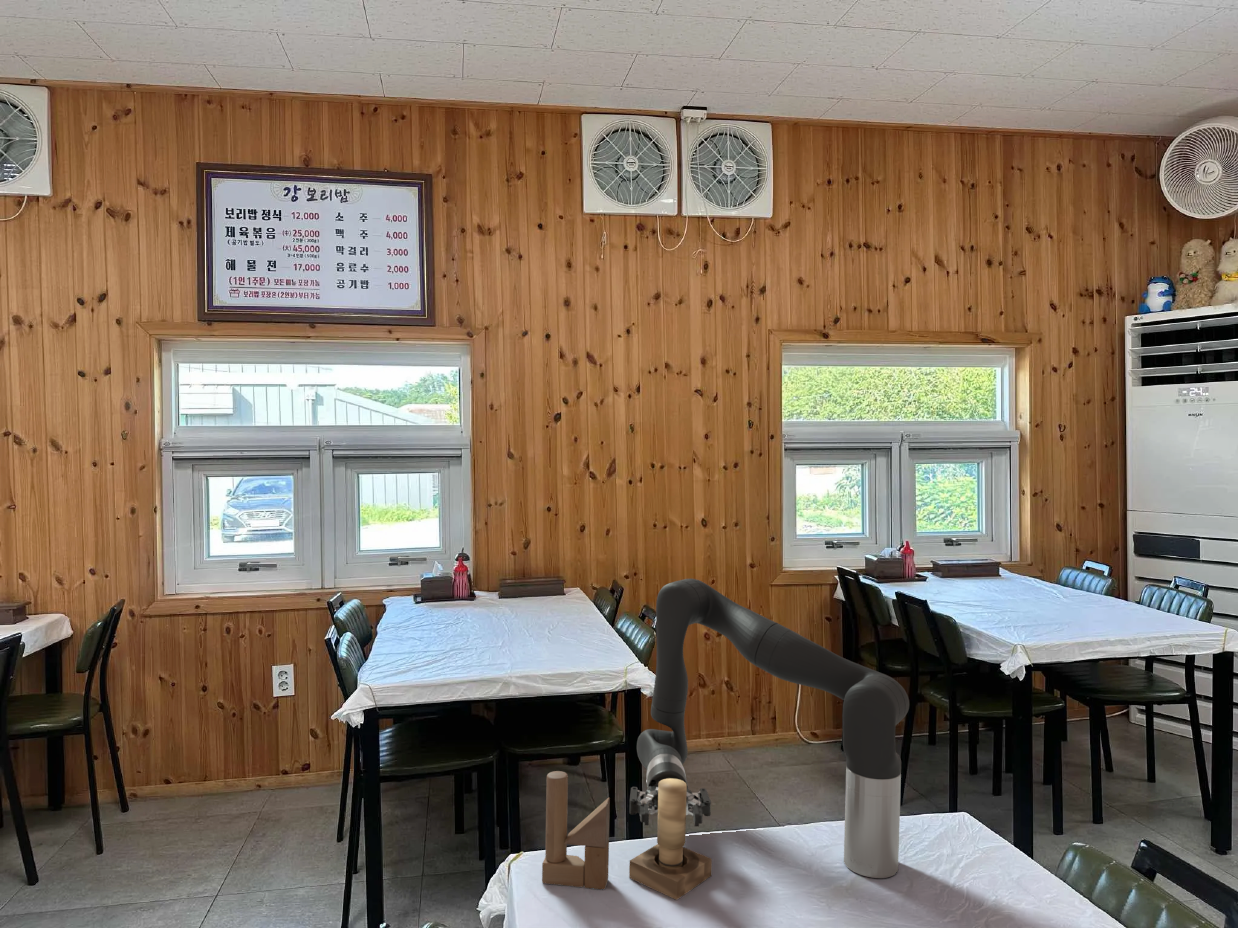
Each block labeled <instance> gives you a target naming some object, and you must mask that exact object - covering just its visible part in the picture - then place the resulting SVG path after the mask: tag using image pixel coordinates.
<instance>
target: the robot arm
mask: <svg viewBox="0 0 1238 928" xmlns="http://www.w3.org/2000/svg"><path fill="white" fill-rule="evenodd" d="M656 597H657V598H656V602H655V603H656V605H655V619H656V620H655V626H656V630H655V631H656V635H655V636H656V665H655V666H656V669H655V677H654V678H655V680H654V684H653V691H652V692H653V693H652V701H651V707H650V717H651V718H652V719H653V720H654V721H655V722H656V723H659V724H662V725H663V726H666V727H668V728H670V729H671V730H672V731H670V730H661V729H655V728H649V729H644V730H643V731H642V732H641V733H640V734H639V736H638V737H637V741H636V754H637V757H638V759H639V761H640V763H641V766H643V767H644V769H646V775H645V776H646V790H645V791H641V790H639V789H638V787H637V786H632V787H630V795H629V814H630V815H632V816H633V815H634V816H635V815H636V814H639V819H640V821H639V822H641V823H643V824H644V826H649V818H650V816H649V815H655V814H657V813H658V783H659V782H660V781H661V780H663V779H669V778H673V779H679V780H682V781H684V782H685V783H686V784H687V792H686V816H692V819H693V820H692V821H693V825H694V827H699V826H700V824H703V815H704V816H705V817H711V815H712V814H711V808H712V807H711V806H712V801H711V798H710V796H709V793H708V790H707V788H705V787H704V788H703V787H702V788H700V789H699V791H698V792H692V791H691V789H689V785H688V781H687V776H686V771H685V767H684V766H683V765H684V763H685V762H686V760H687V758H688V744H687V743H688V742H687V736H686V730H685V729H686V727H685V712H686V706H687V699H688V693H689V692H688V691H689V690H688V689H689V679H688V678H689V677H688V672H687V668H686V664H685V658H684V645H685V644H684V643H685V638H686V635H687V631H688V627H689V626H691V625H694V624H697V625H698V624H699V625H702V626H705V627H706V628H708V629H711V630H713V631H716V632H717V633H719V634H721V635H722V636H723V637H725V638H726V639H727V640H728V641H730V642H731V644H732V645H733V646H734V648H735V649H736V650H737V651H738V652H739V654H740V655H741V656H742V657H743V658H744V659H745V660H746V661H748V662H749V663H751V664H752V665H753V666H755V667H756V668H759V669H761V670H763V671H764V672H766V673H768V674H770V675H772V676H773V677H775V678H778V679H780V680H783V681H786V682H790V683H793V684H796V685H800V686H804V687H810V688H814V689H818V690H821V691H824V692H826V693H828V694H831V695H833V696H835V697H837V698H839V699H841V700H843V703H842V746H843V747H842V749H843V753H844V755H845V757H846V758H845V760H846V762H845V763H846V764H845V765H846V768H845V769H846V770H845V799H844V801H845V803H844V805H845V808H844V835H843V836H844V840H843V842H844V843H843V847H844V848H843V863H844V865H845V866H846V867H847V868H848V869H849V870H850V871H851V872H854V873H856V874H858V875H860V876H863V877H868V878H873V879H874V878H875V879H885V878H886V879H887V878H890V877H893V876H895V875H896V874H897V873H898V871H899V854H900V853H899V850H900V819H901V817H900V816H901V784H902V783H901V780H902V779H901V778H902V774H901V773H902V760H901V756H900V755H899V753H898V752H896V726H897V725H898V724H899V723H900V722H902V720H903V719H904V718H905V717H906V715H907V714H908V712H909V709H910V699H909V695H908V694H907V692H906V690H905V688H904V687H903V686H902V684H900V683H899V682H898V681H897V680H896V679H894V678H893V677H891V676H889V675H887V674H885V673H882V672H879V671H877V670H874V669H872V668H870V667H867V666H863V665H861V664H859V663H857V662H854V661H852V660H849V659H846V658H844V657H842V656H840V655H838V654H836V653H834V652H832V651H831V650H829V649H827V648H825V647H824V646H823V645H820V644H818V643H816V642H814V641H812V640H810V639H808V638H807V637H804V636H803V635H801V634H799V633H798V632H796V631H793V630H792V629H790V628H788V627H786V626H784V625H782V624H781V623H778V622H776V621H774V620H772V619H769V618H767V617H765V616H763V615H761V614H759V613H757V612H755V611H753V610H751V609H749V608H746V607H745V606H743V605H741V604H739V603H736V602H735V601H733V600H731V599H730V598H729V597H726V595H723V594H722V593H720V592H719V591H718V590H716V589H715V588H713V587H712V586H710V585H709V584H707V583H705V582H704V581H701V580H700V579H695V578H685V579H680V580H675V581H672V582H670V583H667V584H665V585H663V586H662V588H661V589H660V590H659V592H658V593H657V596H656ZM896 872H897V873H896ZM895 873H896V874H895Z"/></svg>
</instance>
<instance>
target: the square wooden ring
mask: <svg viewBox="0 0 1238 928" xmlns="http://www.w3.org/2000/svg"><path fill="white" fill-rule="evenodd" d="M712 861H713V859H712V858H711V857H709V856H707V855H704V854H701V853H699V852H697V851H694V850H692V849H690V848H687V847H685V846H683V863H682V867H679V868H665V867H662V866H660V865H659V844H658V843H656V844H655V845H654V846H652V847H650V848H648V849H647V850H645V851H643V852H642V853H640V854H638V855H636V856H634V857H633V858H632V859H630V860H629V869H628V870H629V872H628V874H629V875H628V878H629V879H630V880H633V881H636V882H637V883H639V884H642V885H644V886H645V887H647V888H650V889H651V890H654V891H657V892H658V893H661V894H663V895H665V896H666V897H669V898H671V899H673V900H675V901H678V900H679V899H681V897H683V896H685V895H686V894H687V893H689V892H690V891H692V890H693V889H695V888H696V887H698V886H699V885H701V884H702V883H703V882H705V881H707V880H708V879H709V878H710V877H712V864H713V863H712Z"/></svg>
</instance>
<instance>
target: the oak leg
mask: <svg viewBox="0 0 1238 928" xmlns="http://www.w3.org/2000/svg"><path fill="white" fill-rule="evenodd" d="M687 784H688V783H687ZM687 784H686V783H685V782H684V781H682V780H679V779H673V778H669V779H663V780H661V781H660V782H659V783H658V812H657V827H656V829H657V831H656V832H657V834H656V837H657V839H656V844H659V865H660V866H662V867H665V868H679V867H682V863H683V847H685V845H686V832H687V831H686V830H687V829H686V828H687V825H686V824H687V822H686V821H687V820H686V819H687V815H686V792H687Z"/></svg>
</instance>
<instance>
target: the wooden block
mask: <svg viewBox="0 0 1238 928" xmlns="http://www.w3.org/2000/svg"><path fill="white" fill-rule="evenodd" d="M568 782H569V776H568V773H567V772H565V771H560V770H556V771H555V770H554V771H550V772H549V773H547V775H546V788H545V789H546V791H545V792H546V793H545V794H546V797H545V798H546V800H545V802H546V803H545V854H544V855H545V857H544V859H543V862H542V866H541V868H542V869H541V870H542V871H541V882H542V884H546V885H557V886H565V887H566V886H567V887H575V888H585V889H591V888H594V889H593V890H601V889H604V890H605V889H606V887H607V884H608V881H609V866H610V865H609V862H610V861H609V856H610V855H609V854H610V851H609V850H610V803H611V800H610V799H611V798H610V797H608V798H606V799H605V800H604V801H603V802H602V803H601V804H599V805H598V806H597V807H596V808H595V809H593V811H592V812H591V813H589V814H588V816H586V817H585V818H584V819H583V820H582V821H581V822H579V823H578V824H577V825H576V826H575V827H574V828H572V830H570V832H568V799H569V798H568V796H569V795H568V794H569V793H568V792H569V791H568V790H569V789H568V788H569V783H568ZM568 845H574V846H583V847H584V860H583V859H582V858H581V857H580V856H579V855H578V856H577V855H570V854H567V852H568V850H567V849H568V848H567V847H568Z"/></svg>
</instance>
